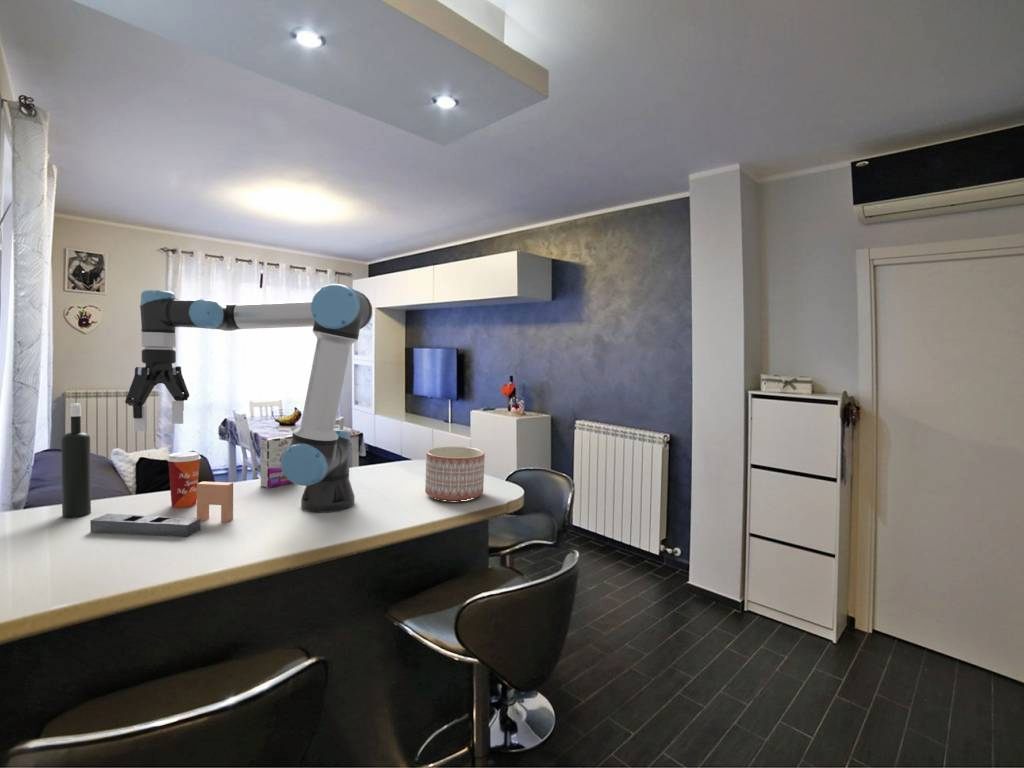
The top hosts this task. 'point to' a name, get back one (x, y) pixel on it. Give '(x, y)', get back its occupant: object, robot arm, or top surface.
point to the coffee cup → (183, 478)
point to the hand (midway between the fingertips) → (160, 427)
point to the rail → (145, 525)
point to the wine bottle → (76, 468)
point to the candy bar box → (273, 460)
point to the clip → (215, 499)
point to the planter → (454, 473)
